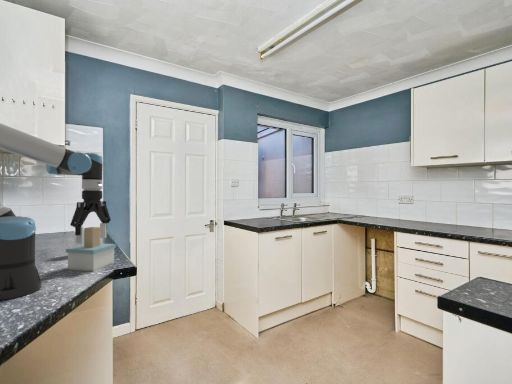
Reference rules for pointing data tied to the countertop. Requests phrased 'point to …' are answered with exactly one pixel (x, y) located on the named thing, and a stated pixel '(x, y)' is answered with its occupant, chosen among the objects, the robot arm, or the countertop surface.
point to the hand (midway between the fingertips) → (92, 240)
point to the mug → (75, 240)
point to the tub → (90, 260)
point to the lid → (91, 243)
